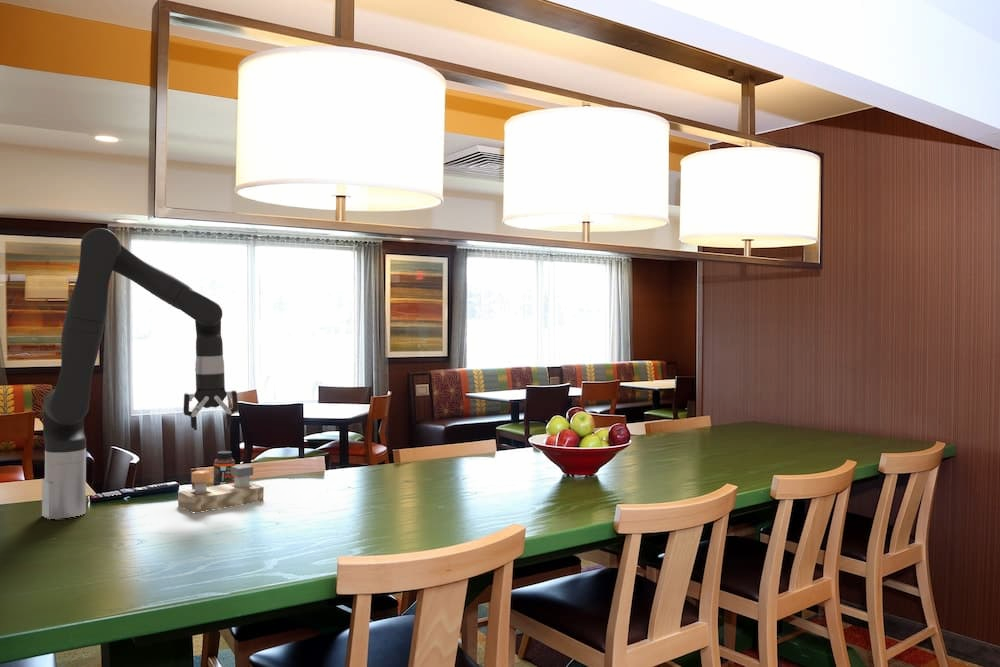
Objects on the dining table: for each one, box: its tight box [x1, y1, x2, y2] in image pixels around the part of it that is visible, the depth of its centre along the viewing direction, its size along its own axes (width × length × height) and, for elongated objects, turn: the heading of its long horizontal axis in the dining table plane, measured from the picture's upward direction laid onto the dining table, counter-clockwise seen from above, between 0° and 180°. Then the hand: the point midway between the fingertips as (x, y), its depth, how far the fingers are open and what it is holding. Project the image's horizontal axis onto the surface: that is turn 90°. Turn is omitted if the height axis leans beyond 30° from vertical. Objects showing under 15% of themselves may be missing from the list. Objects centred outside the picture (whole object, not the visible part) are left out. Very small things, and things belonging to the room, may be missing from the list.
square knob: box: [231, 463, 254, 489], centre depth 212 cm, size 4×4×6 cm
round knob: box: [191, 470, 211, 496], centre depth 203 cm, size 5×5×6 cm
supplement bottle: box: [213, 450, 236, 486], centre depth 224 cm, size 6×6×11 cm
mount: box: [177, 481, 265, 513], centre depth 208 cm, size 20×10×4 cm, turn 136°
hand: (211, 428), depth 210 cm, fingers open, 8 cm apart
